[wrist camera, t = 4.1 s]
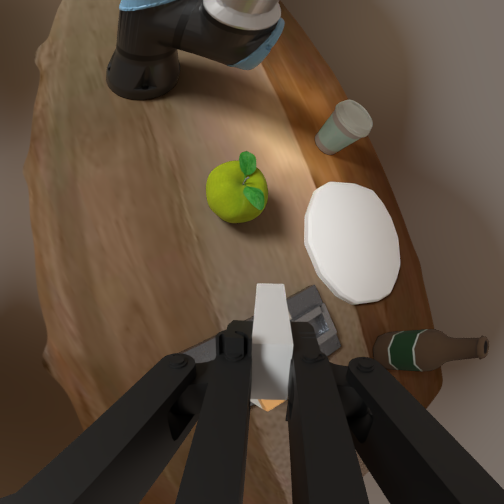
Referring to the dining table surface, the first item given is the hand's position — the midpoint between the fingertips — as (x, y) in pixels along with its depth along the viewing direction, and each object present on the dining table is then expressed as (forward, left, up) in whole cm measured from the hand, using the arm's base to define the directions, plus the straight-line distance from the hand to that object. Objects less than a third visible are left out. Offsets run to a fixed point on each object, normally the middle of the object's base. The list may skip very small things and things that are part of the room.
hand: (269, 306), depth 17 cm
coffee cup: (+6, +46, -28) cm, 54 cm away
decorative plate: (+21, +29, -28) cm, 45 cm away
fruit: (-4, +19, -28) cm, 34 cm away
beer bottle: (+38, +13, -28) cm, 48 cm away
